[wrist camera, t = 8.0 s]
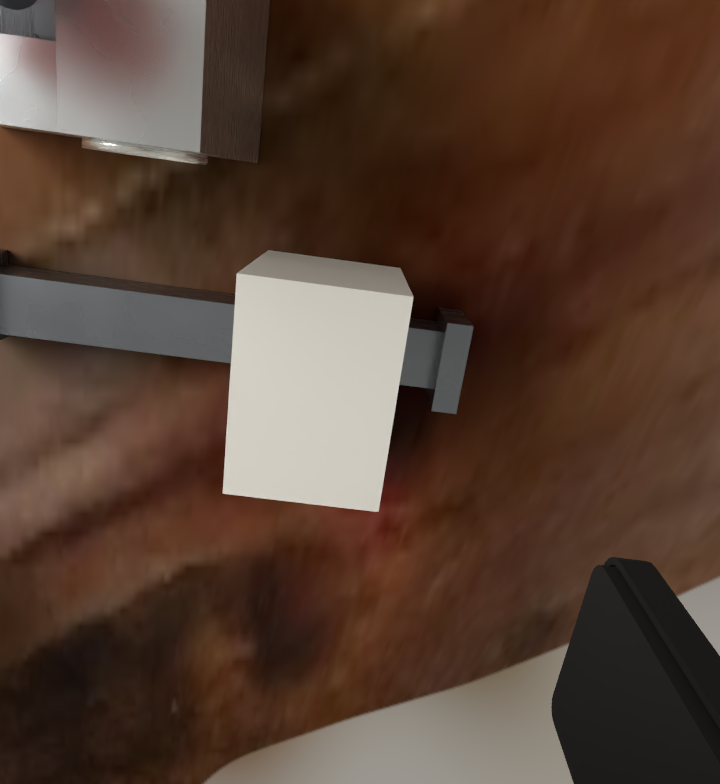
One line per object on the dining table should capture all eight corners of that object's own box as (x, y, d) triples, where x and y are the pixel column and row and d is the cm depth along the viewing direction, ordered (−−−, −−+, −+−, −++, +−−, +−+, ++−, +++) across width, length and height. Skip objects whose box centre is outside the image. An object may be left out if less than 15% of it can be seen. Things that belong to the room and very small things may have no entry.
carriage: (397, 262, 24) (413, 296, 17) (373, 420, 26) (378, 512, 19) (275, 245, 24) (236, 273, 17) (261, 406, 26) (222, 493, 19)
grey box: (273, -47, 21) (214, -201, 13) (257, 171, 24) (199, 164, 15) (-14, -92, 21) (-275, -282, 12) (0, 134, 23) (-210, 107, 15)
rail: (461, 310, 25) (473, 326, 23) (445, 389, 27) (455, 414, 24) (-18, 246, 24) (-67, 255, 22) (-11, 331, 26) (-57, 350, 23)
